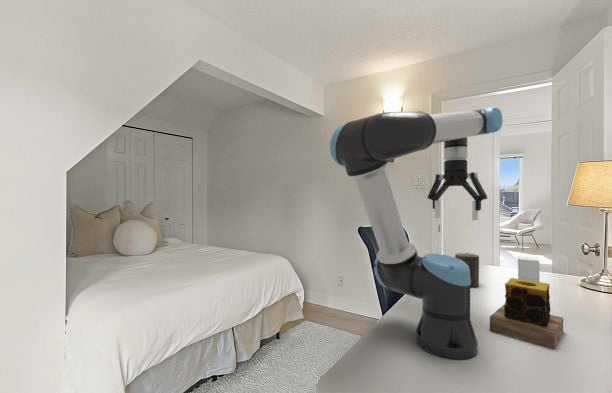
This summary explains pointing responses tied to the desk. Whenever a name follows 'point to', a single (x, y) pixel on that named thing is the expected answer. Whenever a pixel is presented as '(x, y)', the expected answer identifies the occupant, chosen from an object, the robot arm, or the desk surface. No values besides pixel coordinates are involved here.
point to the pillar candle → (471, 266)
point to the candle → (527, 301)
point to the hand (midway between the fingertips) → (455, 219)
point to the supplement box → (528, 268)
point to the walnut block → (528, 329)
